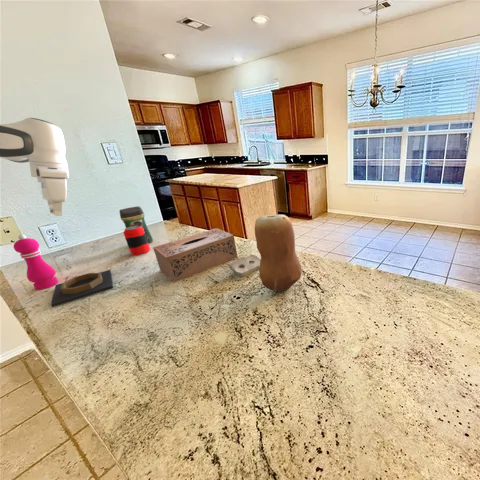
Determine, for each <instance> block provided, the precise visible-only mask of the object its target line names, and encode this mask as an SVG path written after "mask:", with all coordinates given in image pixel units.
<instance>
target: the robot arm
mask: <svg viewBox="0 0 480 480" xmlns="http://www.w3.org/2000/svg"><path fill="white" fill-rule="evenodd" d="M66 153H67V149H66V141H65V138H64V134H63V132H62V129H61V128H60V127H59V126H57V125H56V124H55V123H52V122H50V121H47V120H43V119H41V118H37V117H36V118H35V117H26V118H24V119H23V120H20V121H15V122H11V123H1V124H0V158H1V159H4V160H8V161H10V162H14V163H19V164H20V163H21V164H24V163H28V164H29V169H30V175H31V176H30V177H31V178H36V179H37V182H38V183H40V187H41V195H42V199H43V200H45V201H46V202H47V206H48V207H49V208H48V209H49V213H50V214H53V215H54V216H55V217H61V216H63V203H66V202H67V197H68V189H67V188H68V187H67V186H68V185H67V184H68V183H67V180H68V179H69V180H70V172H69V165H68V161H67V159H66Z"/></svg>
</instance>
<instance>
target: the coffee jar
mask: <svg viewBox="0 0 480 480" xmlns="http://www.w3.org/2000/svg"><path fill="white" fill-rule="evenodd" d="M119 217H120V220H121V221H122V222H123V224H124V227H125V228H128V227H131V226H140V227H142V228H143V229H144V232H145V235H146V238H147V241H148V244H151V243H152V242H153V241H154V239H153V236H152V233H151V232H150V230H149V228H148V225H147V223H146V220H145V212H144V210H143V209H142V207H141V206H139V205H138V206H132V207H126V208H122V209H119Z"/></svg>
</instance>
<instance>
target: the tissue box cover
mask: <svg viewBox="0 0 480 480" xmlns="http://www.w3.org/2000/svg"><path fill="white" fill-rule="evenodd" d="M152 249H153V252H154V255H155V258H156V262H157V265H158V267H159V270H160V272H161V273H163V274H164V275H165V276H166V277H168V279H169V280H170V281H171V282H172V283H176V282H179V281H181V280H184V279H186V278H189V277H191V276H194V275H197V274H199V273H201V272H205V271H207V270H209V269H211V268H214V267H217V266H219V265H221V264H225V263H227V262H229V261H231V260H234V259H236V258H238V256H239V255H238V251H237V246H236V241H235V235H234V234H233V233H229V232H227V231H225V230H222V229H220V228H218V227H216V228H212V229H209V230H206V231H202V232H199V233H195V234H192V235H189V236H186V237H182V238H179V239H175V240H172V241H168V242H165V243H163V244H159V245H156V246H153V247H152Z"/></svg>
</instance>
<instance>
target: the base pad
mask: <svg viewBox="0 0 480 480" xmlns="http://www.w3.org/2000/svg"><path fill="white" fill-rule="evenodd" d="M54 286H55V287H54V289H53V290H54V291H53V295H52V299H51V302H50V306H51V308H54V307H57V306H60V305H64V304H66V303H70V302H73V301H76V300H79V299H83V298H86V297H89V296H92V295H95V294H99V293H102V292H105V291H108V290H111V289H114V283H113V277H112V272H111V269H108V270H104V271H101V272H88V273H84V274H81V275H76V276H73V277H72V278H70V279H67V280H66V281H64V282H61V283H57V284H55V285H54Z"/></svg>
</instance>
